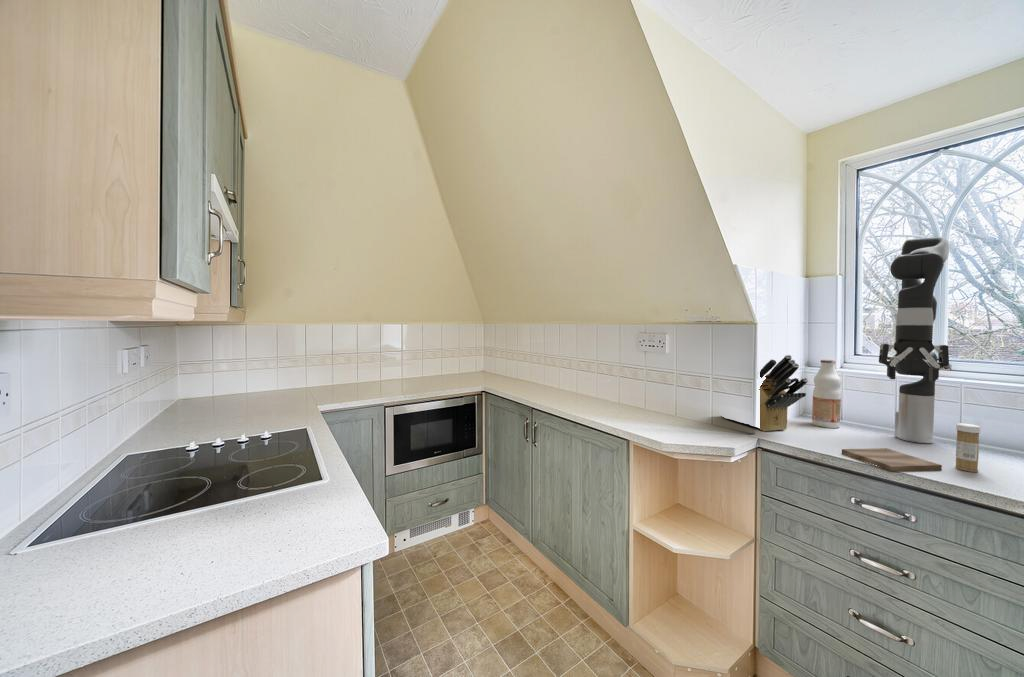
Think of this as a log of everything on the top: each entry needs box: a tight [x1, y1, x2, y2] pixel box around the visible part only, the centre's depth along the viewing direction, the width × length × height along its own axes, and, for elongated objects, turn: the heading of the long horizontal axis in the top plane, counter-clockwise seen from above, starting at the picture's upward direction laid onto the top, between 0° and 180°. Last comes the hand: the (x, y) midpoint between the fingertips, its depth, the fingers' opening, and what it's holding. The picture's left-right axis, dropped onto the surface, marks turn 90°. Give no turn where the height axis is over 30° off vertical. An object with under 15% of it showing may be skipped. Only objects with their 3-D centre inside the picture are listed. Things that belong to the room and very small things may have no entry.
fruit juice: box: [811, 359, 842, 429], centre depth 168 cm, size 9×9×28 cm
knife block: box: [759, 354, 808, 432], centre depth 166 cm, size 11×35×31 cm, turn 12°
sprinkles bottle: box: [954, 422, 981, 473], centre depth 117 cm, size 5×5×13 cm
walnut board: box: [841, 447, 943, 472], centre depth 124 cm, size 16×16×2 cm
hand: (911, 380), depth 114 cm, fingers open, 8 cm apart
